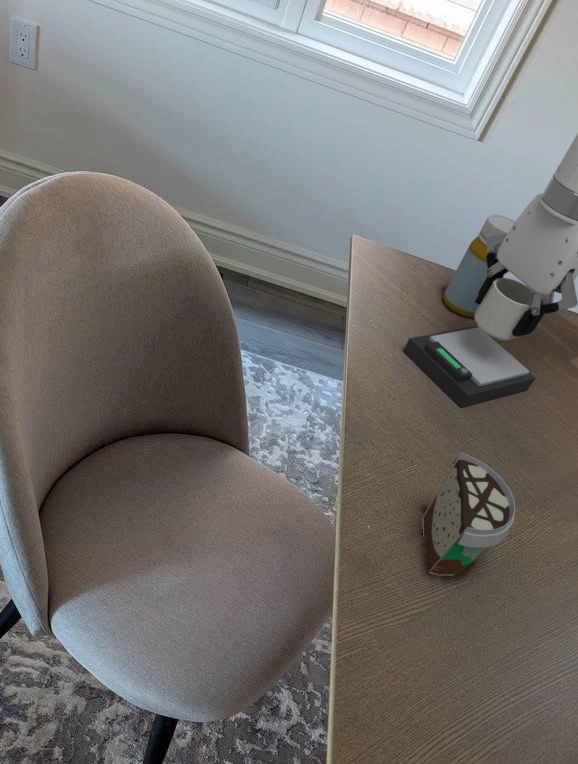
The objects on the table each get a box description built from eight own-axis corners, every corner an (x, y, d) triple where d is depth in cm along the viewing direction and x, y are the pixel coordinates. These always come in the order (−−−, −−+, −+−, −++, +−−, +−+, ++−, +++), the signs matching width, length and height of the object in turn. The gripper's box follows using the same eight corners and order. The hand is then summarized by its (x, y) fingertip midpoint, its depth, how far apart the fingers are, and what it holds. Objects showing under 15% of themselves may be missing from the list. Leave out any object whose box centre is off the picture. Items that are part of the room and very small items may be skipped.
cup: (494, 310, 111) (515, 275, 107) (526, 339, 108) (549, 303, 103) (463, 316, 107) (484, 279, 103) (496, 345, 104) (518, 309, 100)
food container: (477, 607, 80) (527, 549, 73) (423, 590, 80) (467, 531, 73) (470, 524, 89) (513, 465, 82) (421, 509, 89) (460, 449, 82)
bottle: (455, 290, 129) (499, 210, 119) (488, 313, 127) (536, 232, 116) (433, 299, 125) (477, 216, 115) (466, 323, 123) (514, 240, 112)
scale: (469, 338, 119) (480, 318, 117) (527, 390, 113) (540, 371, 110) (402, 351, 112) (412, 330, 109) (460, 408, 105) (473, 388, 103)
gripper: (644, 236, 92) (561, 352, 104) (542, 166, 100) (476, 281, 113) (609, 240, 88) (527, 360, 100) (506, 166, 97) (442, 285, 109)
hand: (501, 317), depth 106 cm, fingers closed on cup, 6 cm apart
